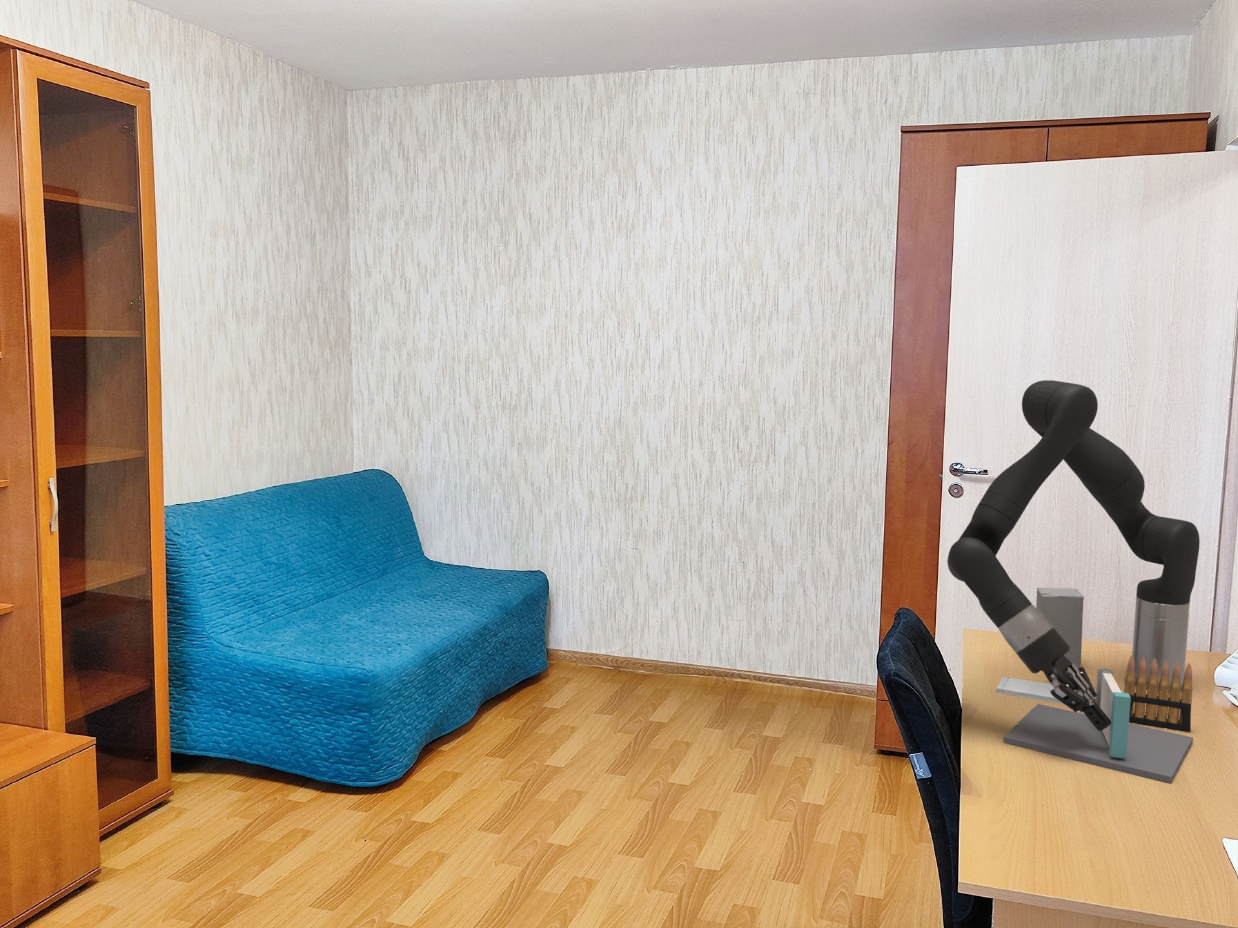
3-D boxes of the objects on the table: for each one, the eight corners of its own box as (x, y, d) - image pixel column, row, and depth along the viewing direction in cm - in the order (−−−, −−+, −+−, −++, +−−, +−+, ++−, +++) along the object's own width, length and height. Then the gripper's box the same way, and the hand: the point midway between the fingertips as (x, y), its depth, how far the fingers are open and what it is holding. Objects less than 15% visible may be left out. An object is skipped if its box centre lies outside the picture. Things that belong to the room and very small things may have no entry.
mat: (1037, 708, 183) (1037, 703, 183) (1192, 742, 168) (1193, 737, 168) (1003, 742, 167) (1003, 736, 167) (1171, 783, 152) (1171, 776, 152)
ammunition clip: (1189, 728, 174) (1195, 662, 173) (1190, 732, 172) (1195, 665, 171) (1121, 718, 179) (1126, 653, 178) (1121, 721, 177) (1125, 656, 176)
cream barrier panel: (1093, 717, 175) (1097, 662, 174) (1108, 718, 174) (1112, 663, 173) (1110, 756, 158) (1114, 695, 157) (1127, 758, 158) (1131, 697, 156)
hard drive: (1071, 686, 192) (1003, 675, 198) (1066, 699, 185) (996, 686, 191) (1070, 694, 193) (1002, 683, 199) (1065, 707, 186) (995, 695, 192)
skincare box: (1074, 660, 212) (1078, 587, 210) (1081, 670, 205) (1086, 595, 203) (1031, 657, 214) (1036, 584, 212) (1037, 667, 207) (1042, 592, 205)
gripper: (1039, 634, 161) (1115, 727, 155) (1062, 618, 171) (1134, 704, 165) (1003, 659, 165) (1076, 750, 159) (1027, 641, 175) (1097, 726, 169)
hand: (1105, 727), depth 162 cm, fingers closed
